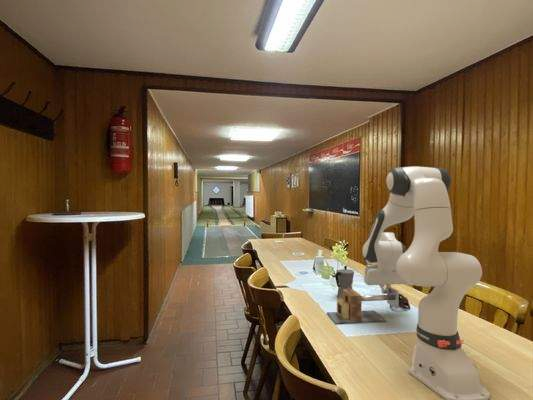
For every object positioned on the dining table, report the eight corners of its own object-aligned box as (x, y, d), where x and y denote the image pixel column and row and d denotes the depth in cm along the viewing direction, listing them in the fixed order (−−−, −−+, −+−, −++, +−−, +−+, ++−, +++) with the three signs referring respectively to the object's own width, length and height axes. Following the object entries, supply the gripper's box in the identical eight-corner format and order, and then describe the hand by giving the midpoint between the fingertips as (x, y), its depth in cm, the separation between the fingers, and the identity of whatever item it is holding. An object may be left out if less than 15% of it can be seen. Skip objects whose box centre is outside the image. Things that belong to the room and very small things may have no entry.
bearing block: (373, 311, 151) (374, 287, 151) (386, 321, 139) (386, 295, 139) (326, 314, 148) (326, 289, 148) (335, 324, 136) (335, 297, 136)
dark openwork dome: (414, 312, 152) (408, 299, 150) (396, 319, 153) (390, 306, 152) (405, 298, 163) (399, 286, 162) (388, 305, 165) (382, 293, 163)
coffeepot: (345, 293, 179) (345, 262, 179) (359, 297, 172) (359, 265, 172) (328, 299, 169) (328, 266, 169) (342, 303, 162) (342, 269, 162)
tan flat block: (342, 313, 146) (342, 298, 146) (348, 319, 139) (349, 303, 139) (336, 313, 146) (336, 298, 146) (342, 320, 139) (342, 303, 138)
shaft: (389, 302, 150) (389, 286, 149) (398, 308, 142) (398, 291, 142) (351, 304, 147) (351, 287, 147) (358, 310, 139) (358, 293, 139)
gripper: (367, 266, 143) (367, 296, 143) (408, 265, 146) (408, 294, 146) (361, 263, 149) (361, 292, 150) (400, 263, 152) (400, 290, 152)
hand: (384, 293), depth 148 cm, fingers closed
